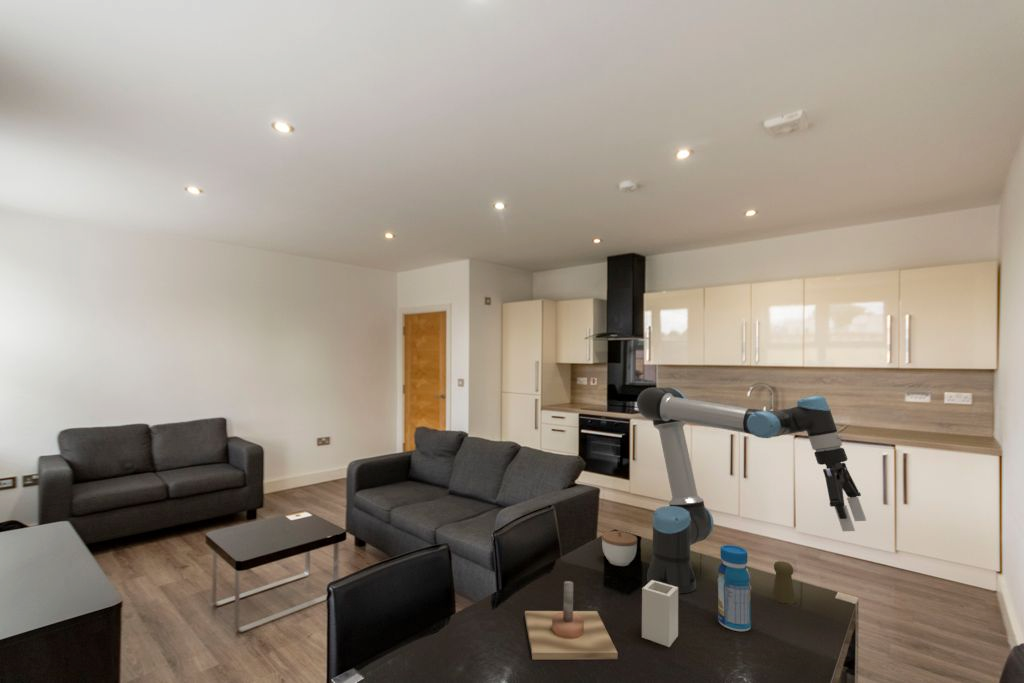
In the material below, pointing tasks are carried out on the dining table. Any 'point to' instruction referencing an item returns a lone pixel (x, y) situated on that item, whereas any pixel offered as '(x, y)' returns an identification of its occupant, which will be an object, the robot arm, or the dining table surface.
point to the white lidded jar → (619, 547)
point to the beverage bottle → (734, 589)
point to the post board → (568, 646)
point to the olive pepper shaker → (783, 583)
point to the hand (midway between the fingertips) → (855, 525)
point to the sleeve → (660, 612)
